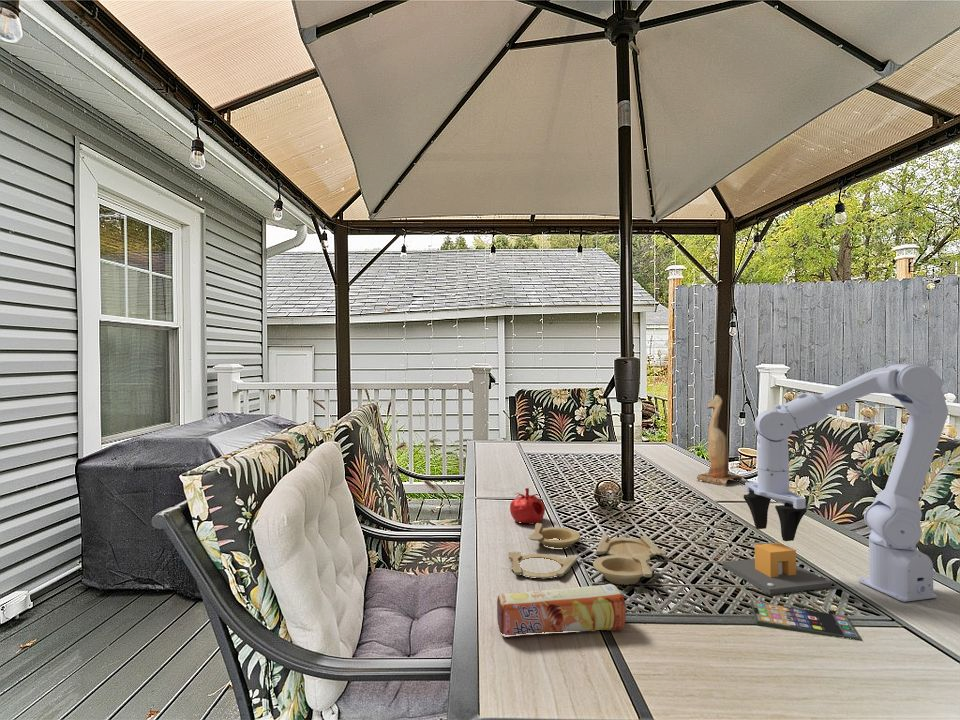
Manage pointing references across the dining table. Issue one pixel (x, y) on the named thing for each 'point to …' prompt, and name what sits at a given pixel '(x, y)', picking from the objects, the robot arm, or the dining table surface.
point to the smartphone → (803, 620)
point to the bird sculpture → (717, 449)
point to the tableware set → (617, 567)
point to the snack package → (562, 610)
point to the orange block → (775, 559)
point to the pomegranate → (527, 508)
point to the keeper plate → (777, 578)
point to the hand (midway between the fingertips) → (774, 534)
